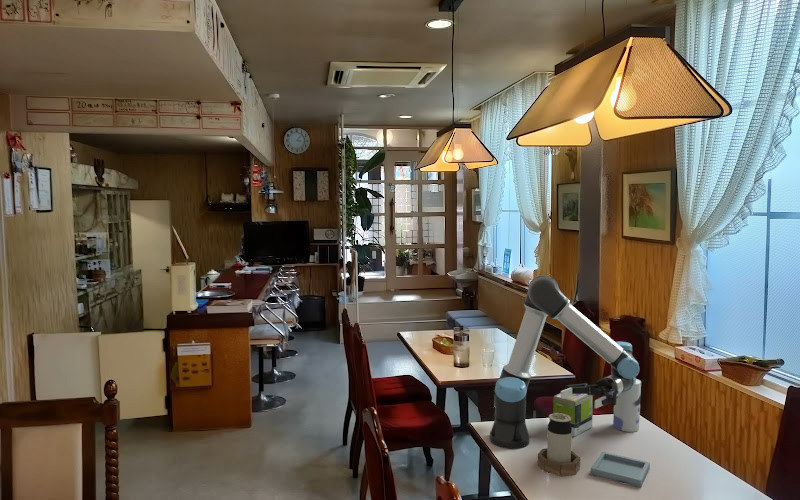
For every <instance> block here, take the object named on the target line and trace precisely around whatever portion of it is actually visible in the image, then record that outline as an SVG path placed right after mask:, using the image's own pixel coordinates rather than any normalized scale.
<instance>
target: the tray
mask: <svg viewBox="0 0 800 500" xmlns="http://www.w3.org/2000/svg"><path fill="white" fill-rule="evenodd" d="M650 464H651V463H650V462H649V461H645V460H641V459H636V458H633V457H627V456H622V455H618V454H615V453H610V452H606V451H601V453H600V455H599V456H598V457H597V459H596V460H595V462H594V463H593V464H592V465H591V467H590V476H593V477H597V478H601V479H605V480H609V481H614V482H617V483H621V484H624V485H630V486H633V487H636V488H640V489H641V488H642V486H643V484H644V482H645V479H646V477H647V475H648V473H649V472H650V467H651V465H650Z"/></svg>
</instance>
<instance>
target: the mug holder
mask: <svg viewBox="0 0 800 500" xmlns="http://www.w3.org/2000/svg"><path fill="white" fill-rule="evenodd" d="M536 465H537V466H538V467H539V468H540V470H541V471H542V472H544V473H546V474H551V475H555V476H559V477H568V476H575V475H577V473H578V472H579V471H580V470H581V456H579V455H578V454H576V453H575V452H574V451H573V450H571V462H568V463H558V462H554V461H550V460H547V447H545V448H542V449H541V450H540V451H539V452H538V453H537V464H536Z"/></svg>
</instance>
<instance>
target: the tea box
mask: <svg viewBox="0 0 800 500" xmlns="http://www.w3.org/2000/svg"><path fill="white" fill-rule="evenodd" d="M589 393H591V392H590V391H589ZM593 397H594V395H587V394H572V395H571V396H569V397H566V398H564V399H561V392H560V393H557V394H556V395H554V396H553V410H552V411H553V413H562V414H566V415H569V416H570V417H571V420H570V425H571V427H572V433H571V437H577V436H578V435H580V434H582V433H583V432H586V431H587V430H589V429H591V428H593V415H594V414H593V408H594V407H593V406H594V405H593V404H594V403H593ZM553 413H552V414H553Z"/></svg>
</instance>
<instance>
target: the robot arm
mask: <svg viewBox="0 0 800 500" xmlns="http://www.w3.org/2000/svg"><path fill="white" fill-rule="evenodd" d="M523 306H524V308H525V311H524V314H523V318H522V320H521V323H520V327H519V330H518V332H517V336H516V339H515V342H514V345H513V348H512V351H511V354H510V357H509V361H508V363H507V364H505V365H504V366H503V367H502V370H501V373H500V375H499V377H498V379H497V381H496V383H495V386H494V393H495V394H494V395H495V396H494V397H495V398H494V399H495V401H494V402H495V403H494V421H493V424H492V427H491V430H490V431H489V432H490V433H489V441H490V442H491V443H492V444H493V445H495V446H497V447H501V448H506V449H520V448H525V447H527V446H528V445H529V444H530V433H529V430H528V427H527V424H526V412H527V411H526V409H527V390H528V386H529V384H530V380H531V377H532V375H531V373H530V368H531V365H532V363H533V359H534V356H535V353H536V350H537V347H538V343H539V341H540V337H541V335H542V332H543V329H544V326H545V323H546V319H547V317H550V319H552V320H557V321H559V322H560V323H561V325H563V326H564V327H566V328H567V329H568V330H569V331H570V332H571V333H573V335H575V336H576V337H577V338H578V339H579V340H581V341H582V342H583V343H584V344H585V345H587V346H588V347H589V348H590V349H591V350H593V351H594V352H595V353H596V354H597V355H598V356H600V358H602V359H603V360H605V362H607V363H608V364H609V365H610V366H611V367H610V373H611V374H610V375H608V376H605V377H603V378H600V379H598V380H596V381H595V383H594V384H589V383H588V382H584V383H577V384H566V385H565V386H564V388H565V389H563V390H561V391H560V393H561V399H564V398H566V397H569V396H571V395H572V394H587V395H593V396H596V397H598V398H597V399H595V400H594V409H599V408H600V407H603V406H606V405H611V404H612V405H613V406H614V405H616V400H617V398H618V395H619V394H620V393H623V392H625V391H628V390H630V389H631V388H633V387H634V386H635V384H636V379H637V376H638V375H639V373H640V370H641V369H640V366H639V364H640V363H639V362H638V360H636V359H635V357H634V355H633V345H632V344H631V343H630V342H627V341H614V340H613V339H612V338H611V337H610V336H608V335H607V334H606V333H605V332H603V331H602V330H601V329H600V328H599V327H598V326H597V325H596V324H594V323H593V322H592V321H591V320H590V319H588V318H587V317H586V316H585V315H584V314H583V313H581V312H580V311H579V310H578V309H577V308H576V307H574V306H573V305H572V303H571V301H570V299H569V298H568V297H567V296H565V295H564V293H563V292H562V291H561V290H560V288H559V284H558V282H557V281H556V279H554V278H553V277H551V276H548V275H537V276H535V277H534V278H532V279H531V280H530V282H529V283H528V289H527V293H526V296H525V299H524V302H523ZM589 392H590V393H589Z"/></svg>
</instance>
